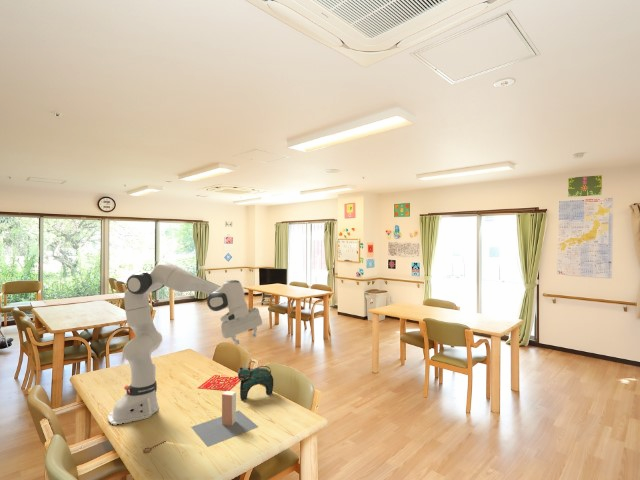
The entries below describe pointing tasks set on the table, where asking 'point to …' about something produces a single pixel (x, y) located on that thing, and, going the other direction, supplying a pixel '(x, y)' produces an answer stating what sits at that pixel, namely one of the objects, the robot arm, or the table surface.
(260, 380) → the ceramic cat
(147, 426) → the table surface
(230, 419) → the block
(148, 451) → the key
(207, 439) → the mat
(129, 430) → the table surface
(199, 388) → the maze puzzle
